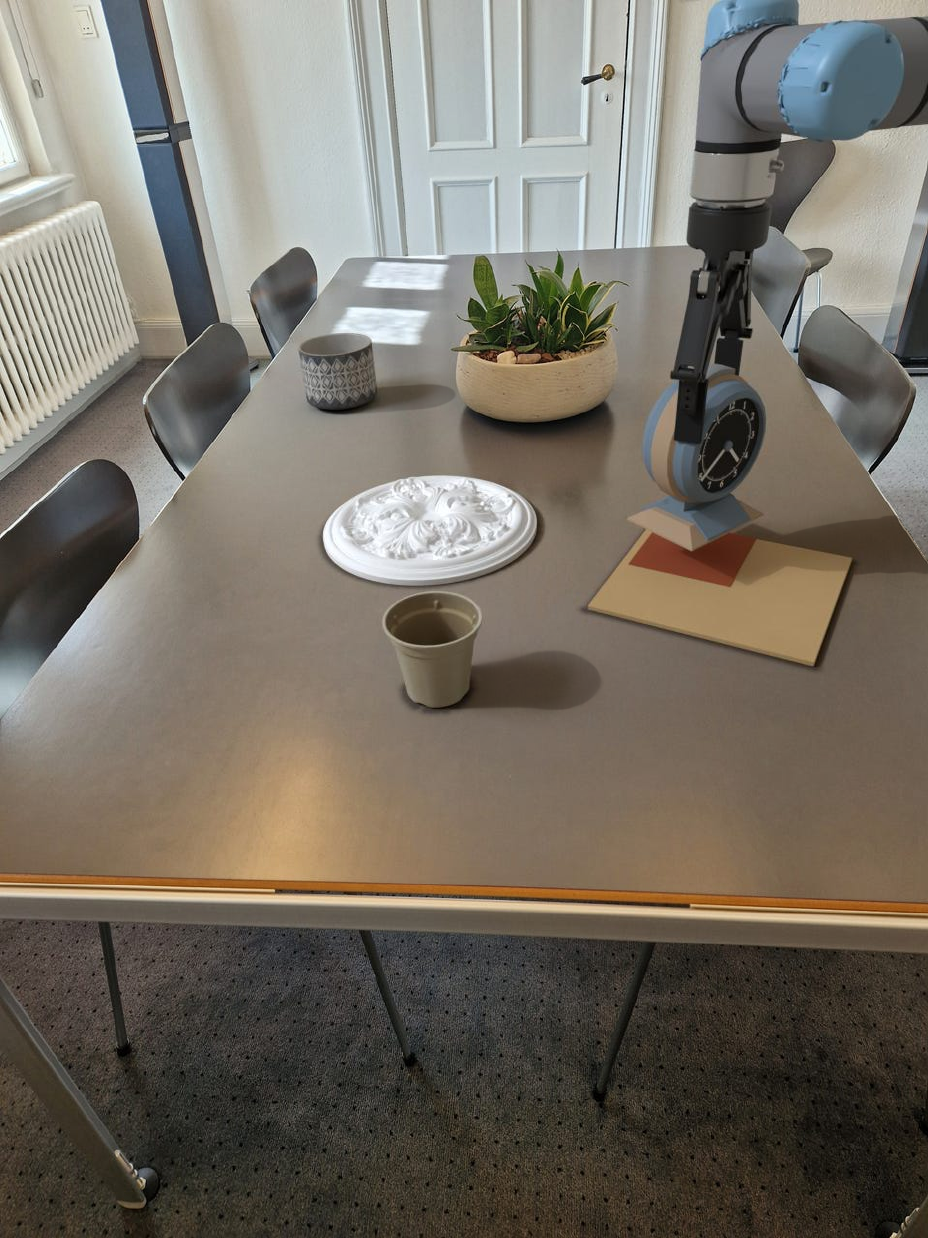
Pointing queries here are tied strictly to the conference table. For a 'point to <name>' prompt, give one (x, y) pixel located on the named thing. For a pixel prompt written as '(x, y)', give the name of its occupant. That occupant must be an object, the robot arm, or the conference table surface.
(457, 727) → the conference table surface
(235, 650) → the conference table surface
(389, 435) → the conference table surface
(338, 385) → the planter
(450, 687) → the flower pot
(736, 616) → the mat
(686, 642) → the conference table surface
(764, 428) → the alarm clock
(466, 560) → the ceiling medallion
